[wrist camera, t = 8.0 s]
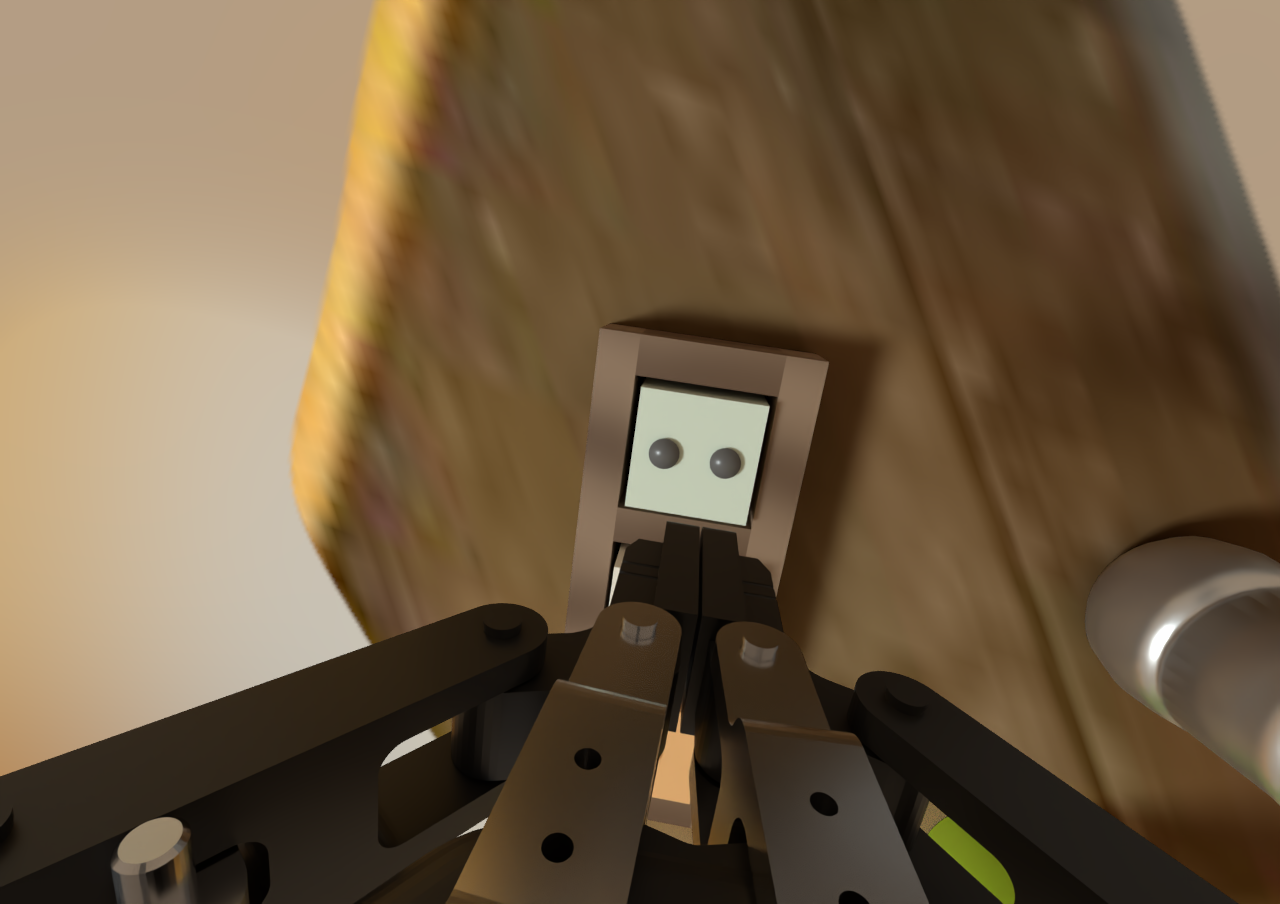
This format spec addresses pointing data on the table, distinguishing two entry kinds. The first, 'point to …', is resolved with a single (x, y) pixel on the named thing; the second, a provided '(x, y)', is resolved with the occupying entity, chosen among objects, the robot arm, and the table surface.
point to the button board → (609, 521)
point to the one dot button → (674, 767)
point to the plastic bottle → (1198, 644)
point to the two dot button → (696, 450)
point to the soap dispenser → (974, 859)
